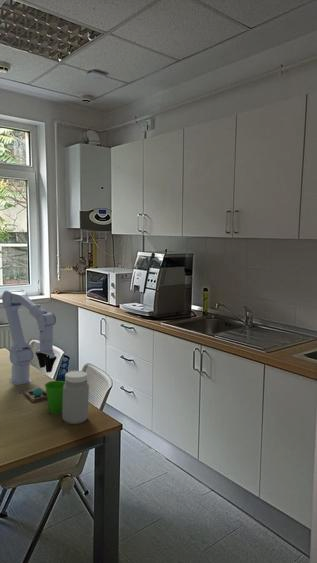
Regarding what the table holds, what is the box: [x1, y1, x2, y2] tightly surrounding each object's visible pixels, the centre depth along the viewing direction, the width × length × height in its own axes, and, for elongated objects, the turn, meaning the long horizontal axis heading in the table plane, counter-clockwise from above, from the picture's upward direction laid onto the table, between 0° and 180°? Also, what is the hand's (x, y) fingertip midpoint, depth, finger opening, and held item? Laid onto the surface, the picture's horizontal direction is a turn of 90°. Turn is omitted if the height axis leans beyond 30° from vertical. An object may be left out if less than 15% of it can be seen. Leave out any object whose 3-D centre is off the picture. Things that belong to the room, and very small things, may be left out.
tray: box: [23, 388, 48, 404], centre depth 177 cm, size 10×8×2 cm
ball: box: [32, 387, 43, 397], centre depth 177 cm, size 4×4×4 cm
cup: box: [44, 380, 65, 415], centre depth 164 cm, size 9×9×11 cm
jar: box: [61, 370, 90, 425], centre depth 157 cm, size 10×10×18 cm
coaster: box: [18, 389, 31, 395], centre depth 183 cm, size 5×5×1 cm
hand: (45, 369), depth 185 cm, fingers open, 7 cm apart
